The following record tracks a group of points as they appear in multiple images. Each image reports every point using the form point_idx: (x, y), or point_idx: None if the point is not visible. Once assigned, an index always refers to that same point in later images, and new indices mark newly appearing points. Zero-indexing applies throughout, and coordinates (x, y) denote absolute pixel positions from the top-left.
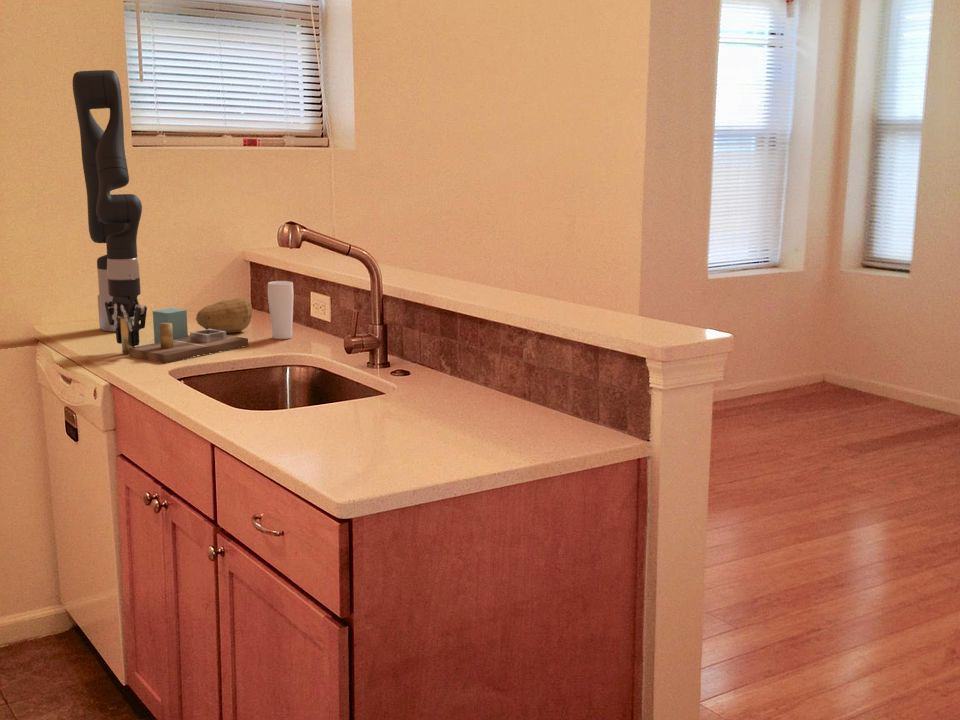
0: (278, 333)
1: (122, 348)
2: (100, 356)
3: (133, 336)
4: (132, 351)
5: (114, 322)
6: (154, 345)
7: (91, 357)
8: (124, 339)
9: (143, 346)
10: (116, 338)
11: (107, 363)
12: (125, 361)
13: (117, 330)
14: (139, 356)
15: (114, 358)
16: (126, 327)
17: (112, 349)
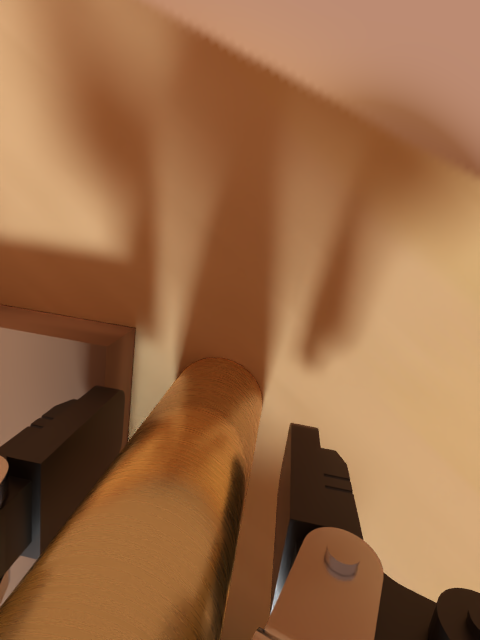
0: None
1: (227, 379)
2: (329, 212)
3: (28, 436)
4: (76, 332)
5: (363, 623)
6: None
7: (371, 139)
8: (169, 413)
9: None
10: (344, 466)
11: (60, 29)
12: (12, 171)
13: (294, 507)
14: (16, 312)
15: (167, 211)
16: (75, 518)
17: (443, 461)
